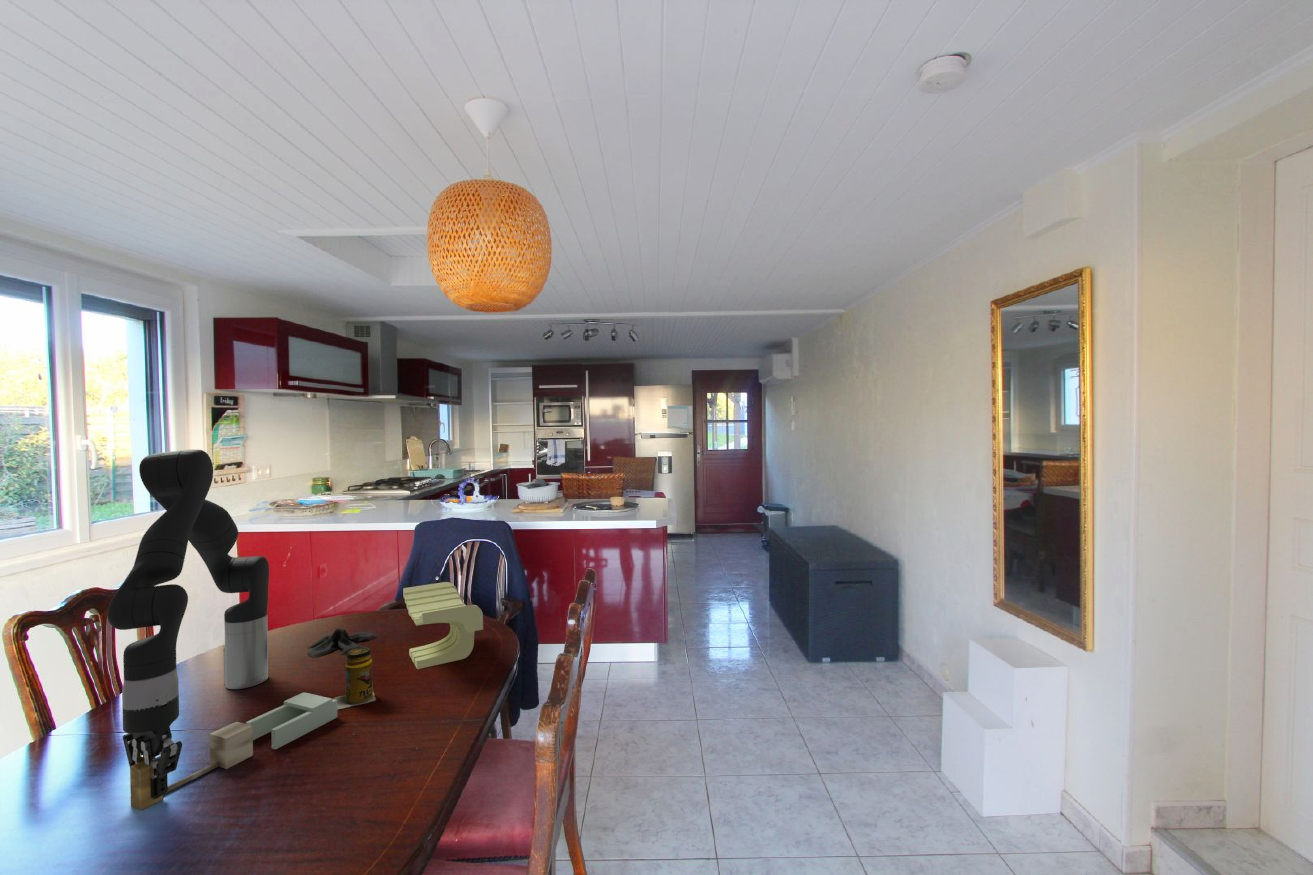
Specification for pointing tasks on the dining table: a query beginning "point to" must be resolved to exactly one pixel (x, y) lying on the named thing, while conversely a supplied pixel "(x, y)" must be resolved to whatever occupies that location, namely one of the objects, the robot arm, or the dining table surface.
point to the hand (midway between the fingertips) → (153, 792)
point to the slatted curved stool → (442, 608)
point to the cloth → (339, 642)
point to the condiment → (357, 679)
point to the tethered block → (224, 753)
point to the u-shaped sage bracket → (294, 718)
